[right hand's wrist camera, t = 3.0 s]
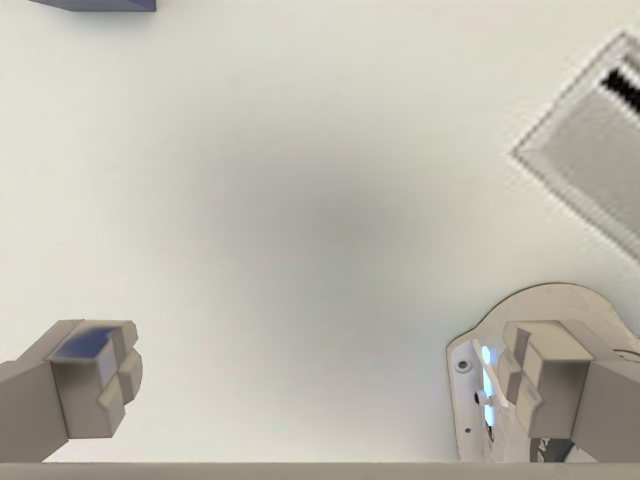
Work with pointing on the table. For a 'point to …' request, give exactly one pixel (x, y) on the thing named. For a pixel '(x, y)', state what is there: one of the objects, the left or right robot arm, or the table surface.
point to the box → (101, 5)
